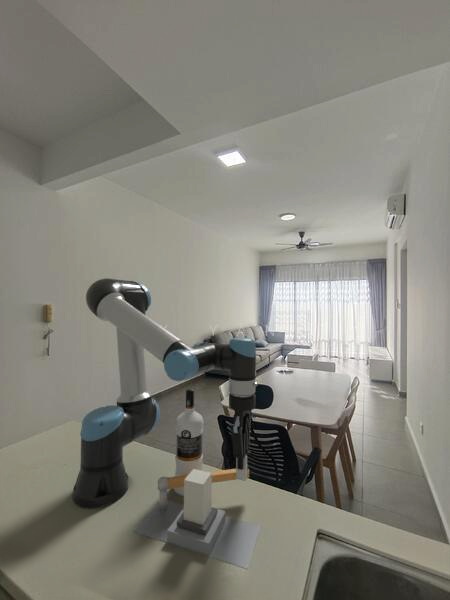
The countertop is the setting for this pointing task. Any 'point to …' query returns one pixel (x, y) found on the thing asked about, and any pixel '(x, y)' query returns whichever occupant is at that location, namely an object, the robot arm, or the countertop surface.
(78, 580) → the countertop surface
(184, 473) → the vodka
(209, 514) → the plug
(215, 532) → the socket block
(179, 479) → the orange knobbed bar
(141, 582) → the countertop surface
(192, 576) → the countertop surface
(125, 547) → the countertop surface
